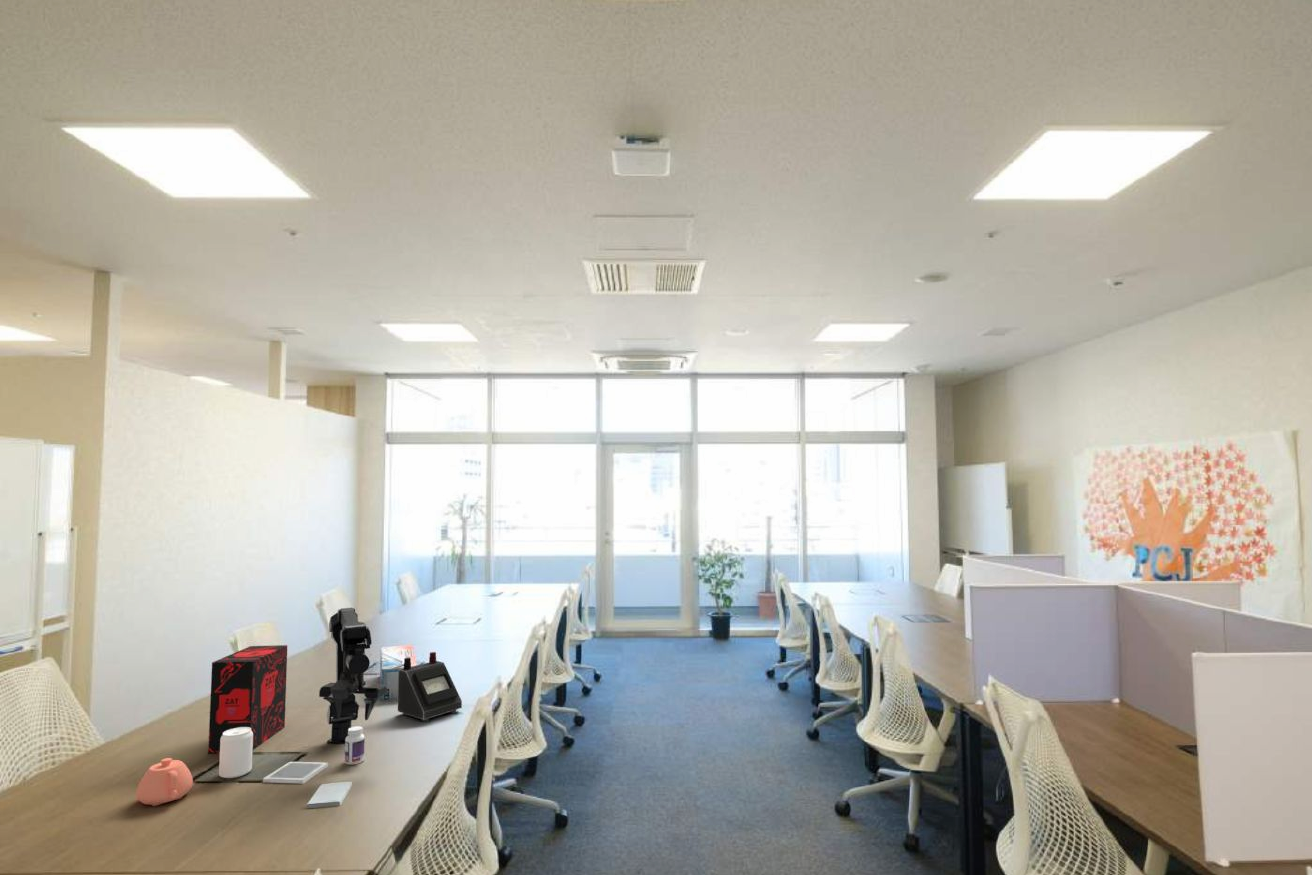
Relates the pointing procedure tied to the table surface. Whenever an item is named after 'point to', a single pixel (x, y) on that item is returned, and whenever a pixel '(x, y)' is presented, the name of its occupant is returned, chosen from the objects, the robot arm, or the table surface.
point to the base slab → (295, 772)
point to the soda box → (393, 668)
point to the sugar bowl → (164, 782)
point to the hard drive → (329, 795)
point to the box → (248, 694)
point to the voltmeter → (426, 690)
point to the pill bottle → (354, 746)
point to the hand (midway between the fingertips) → (352, 719)
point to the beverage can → (236, 752)
